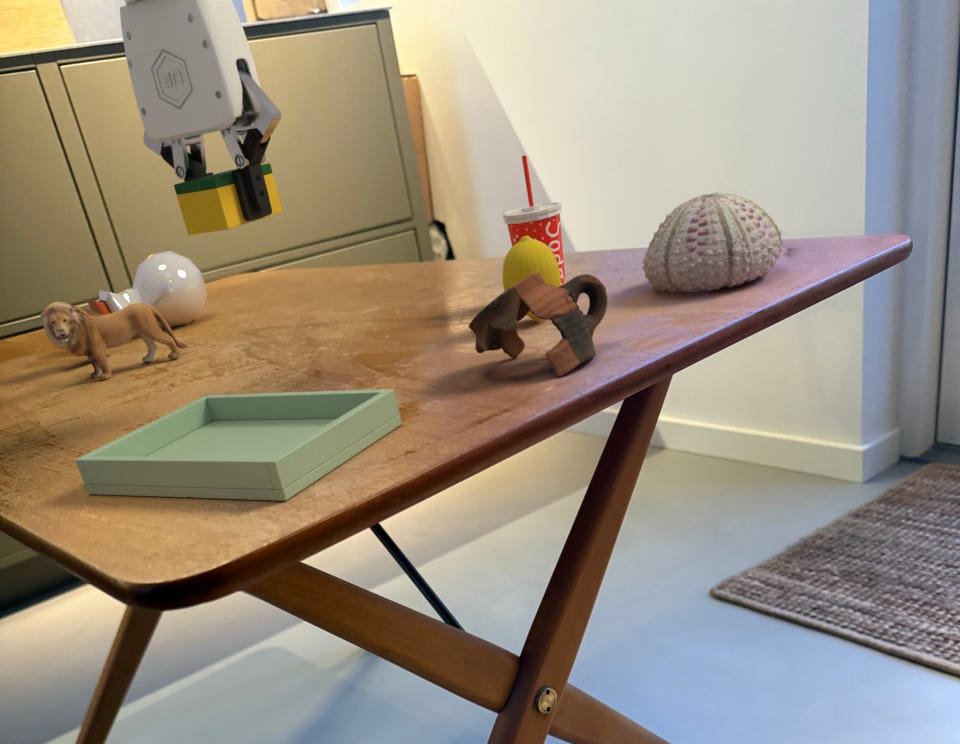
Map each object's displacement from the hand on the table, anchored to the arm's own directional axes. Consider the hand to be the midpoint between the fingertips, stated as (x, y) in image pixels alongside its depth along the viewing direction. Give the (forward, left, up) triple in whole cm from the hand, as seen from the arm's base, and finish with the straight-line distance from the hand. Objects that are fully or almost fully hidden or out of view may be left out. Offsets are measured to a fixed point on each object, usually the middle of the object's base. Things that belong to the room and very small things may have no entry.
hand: (234, 218), depth 89 cm
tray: (+10, -17, -15) cm, 25 cm away
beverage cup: (+14, +28, -15) cm, 35 cm away
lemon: (+18, +19, -15) cm, 30 cm away
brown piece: (+26, +4, -15) cm, 30 cm away
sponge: (0, 0, 0) cm, 0 cm away
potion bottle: (-43, +27, -15) cm, 53 cm away
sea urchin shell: (+32, +30, -15) cm, 46 cm away
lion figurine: (-30, +9, -15) cm, 35 cm away
